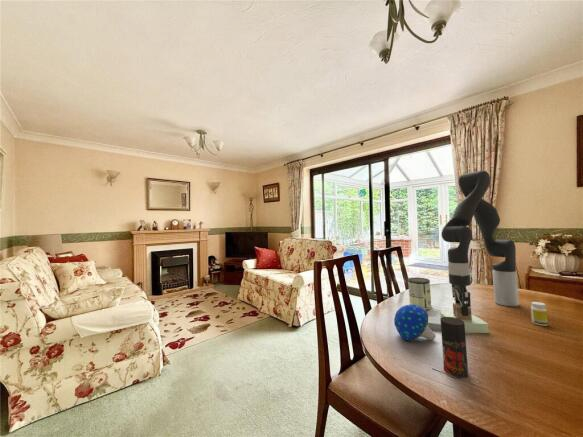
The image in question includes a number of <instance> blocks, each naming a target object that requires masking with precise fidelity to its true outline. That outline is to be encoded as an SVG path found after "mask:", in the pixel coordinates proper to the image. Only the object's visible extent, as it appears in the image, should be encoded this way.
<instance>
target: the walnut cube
mask: <svg viewBox="0 0 583 437" xmlns="http://www.w3.org/2000/svg"><path fill="white" fill-rule="evenodd" d="M452 312H453V314H454V316H455V317H456V318H458V319H462V320H472V315H471V314H472V307H468V314H469V315H468V316H463V315H462V313H461V304H460V303H455V302H453V303H452Z"/></svg>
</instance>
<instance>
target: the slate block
mask: <svg viewBox="0 0 583 437" xmlns="http://www.w3.org/2000/svg"><path fill="white" fill-rule="evenodd" d="M440 319H441V318H440V317H436V316H428V324H427V325H428V326H429V328H430V329H431V330H432V331H438V332H439V331H440V332H441V320H440Z"/></svg>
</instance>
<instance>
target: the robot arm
mask: <svg viewBox="0 0 583 437" xmlns="http://www.w3.org/2000/svg"><path fill="white" fill-rule="evenodd" d="M457 183H458V186H459V189H460V191H461V192H462V194H463V196H464V199H462V200H461V201H460V202H459V203H458V204H457V205H456V207H455V209H454V211H453V213H452V217H451V218H450V219H449V220H448V221H447V223H446V224H445V225H444V226H443V228H442V229H441V238H442V239H443V241H445V242H446V243H459V244H458V246H457V247H451V248H448V250H447V261H448V264H447V270H448V282H449V284H450V285H451V290H452V299H453V298H454V303H460V304H461V313H462V315H463V316H468V315H469V314H468V307H471V306H472V305H471V292H469V291H468V289H467V287H468V286H471V284H472V281H471V268H470V262H469V248H470V245H471V241H472V236H473V233H472V230H471V228H470V227H468V226H469V225H471V223H472V221H473V218H474V220H475V222H476V224H477V226H478V228H479V232H481V236H482V239H483V243H484V245H485V249H486V251H487V254H488V255H490V256H491V257H494V258H495V257H496V258H504V260H503V261H501V262H497V263H493V264H492V265H491V271H492V282H493V284H492V285H493V296H494V303H495V304H498V305H501V306H505V307H518V306H519V305H520V302H519V289H518V288H519V287H518V277H517V261H516V260H517V259H516V256H517V254H516V252H517V250H516V249H517V248H516V245H515V242H514V240H512V239H495V238H494V233H495V232H496V230H497V229H498V227H499V225H500V222H501V218H500V215H499V213H498V209H497V208H496V207H495V206H494V205H493V204H492V203H490V202H488V201H487V200H485V199H484V196H485V194H486V192H487V191H488V189H489V188H490V185H491V177H490V174H489V172H487V170H477V171H472V172H467V173H466V172H465V173H463V174H461V175H459V177H458V182H457ZM471 308H472V307H471Z"/></svg>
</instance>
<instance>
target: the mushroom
mask: <svg viewBox="0 0 583 437" xmlns="http://www.w3.org/2000/svg"><path fill="white" fill-rule="evenodd" d="M428 317H429V314H428V313H427V311H426V310H424V309H423V308H422V307H420V306H417V305H410V304H405V305H402V306H401V307H399V309H397V310H396V312H395V314H394V319H393V320H394V326H395V328H396V330H397V333H398V334H399V336H400V337H401V338H402V339H403V340H404V341H406V340H407V341H411V342H414V341H416V340H417V339H419V338H420V337H421V338H425V339H427V340H429V341H434V340H435V339H436V337H437V336H436V333H434V330H432V329H430V328H429V326H428V325H427V324H428Z"/></svg>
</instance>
